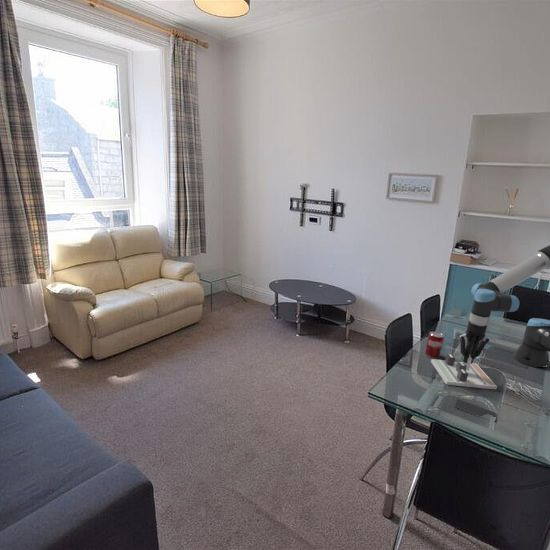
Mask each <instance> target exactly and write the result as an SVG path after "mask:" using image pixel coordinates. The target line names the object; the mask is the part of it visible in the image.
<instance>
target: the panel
mask: <svg viewBox="0 0 550 550" xmlns="http://www.w3.org/2000/svg"><path fill="white" fill-rule="evenodd" d="M458 362H459V361H456V360H455V361H454V365H447V364H446V362H445V360H443V359H437V358H436V359H435V358H431V359H430V363H431V364H432V366H433V367H434V368H435V370H436V371H437V373H438V374H439V375H440V378H442V380H443V382H444V383H445V384H447V385H449V386H459V387H466V388H467V387H469V388H478V389H488V390H497V389H498V386H497V385H496V383H495V382H494V381H493V380H492V379H491V378H490V377H489V376H488V375H487V374H486V373H485V371H484V370H483V369H482V368H481V367H480V366H479V365H478V364H477V363H476V362H475V363H474V362H473V363H472V364H470V368H469V371H467V370H466V372H467V373H468V377H467V380H466V381H459V380H458V378H457V374H458V372H457V371H456V367H457V363H458ZM461 362H462V363H464V362H463V361H461Z"/></svg>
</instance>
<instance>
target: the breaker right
mask: <svg viewBox="0 0 550 550" xmlns="http://www.w3.org/2000/svg"><path fill="white" fill-rule="evenodd" d="M467 377H468V373H467V372H466V370H463V369H461V370H458V374H457V378H458V380H459V381H466V380H467Z"/></svg>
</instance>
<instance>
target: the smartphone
mask: <svg viewBox="0 0 550 550" xmlns="http://www.w3.org/2000/svg"><path fill="white" fill-rule="evenodd" d="M453 407H454V409H456V408H457V409H456V410H459V409H460V410H459V411H461V410H462V411H461V412H464V411H465V412H464V413H466V412H468V413H467V414H469V413H471V414H470V415H472V414H474V415H473V416H475V415H478V416H483V415H485V414H486V415H487V414H489V415H492V416H493V417H496V416H497V412H495V411H492V410H489V409H487V408H484V407H482V406H478V405H476V404H474V403H471V402H468V401H465V400H462V399H460V398H456V399H455V401H454V405H453ZM478 416H477V417H478ZM496 418H497V417H496Z"/></svg>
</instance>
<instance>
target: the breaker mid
mask: <svg viewBox="0 0 550 550" xmlns="http://www.w3.org/2000/svg"><path fill="white" fill-rule="evenodd" d="M457 362H458V363H457V367H456V371H457V372H458V370H461V369H463V370H466V367H467V366H466V365H465V363H462V362H463V361H457Z"/></svg>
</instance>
